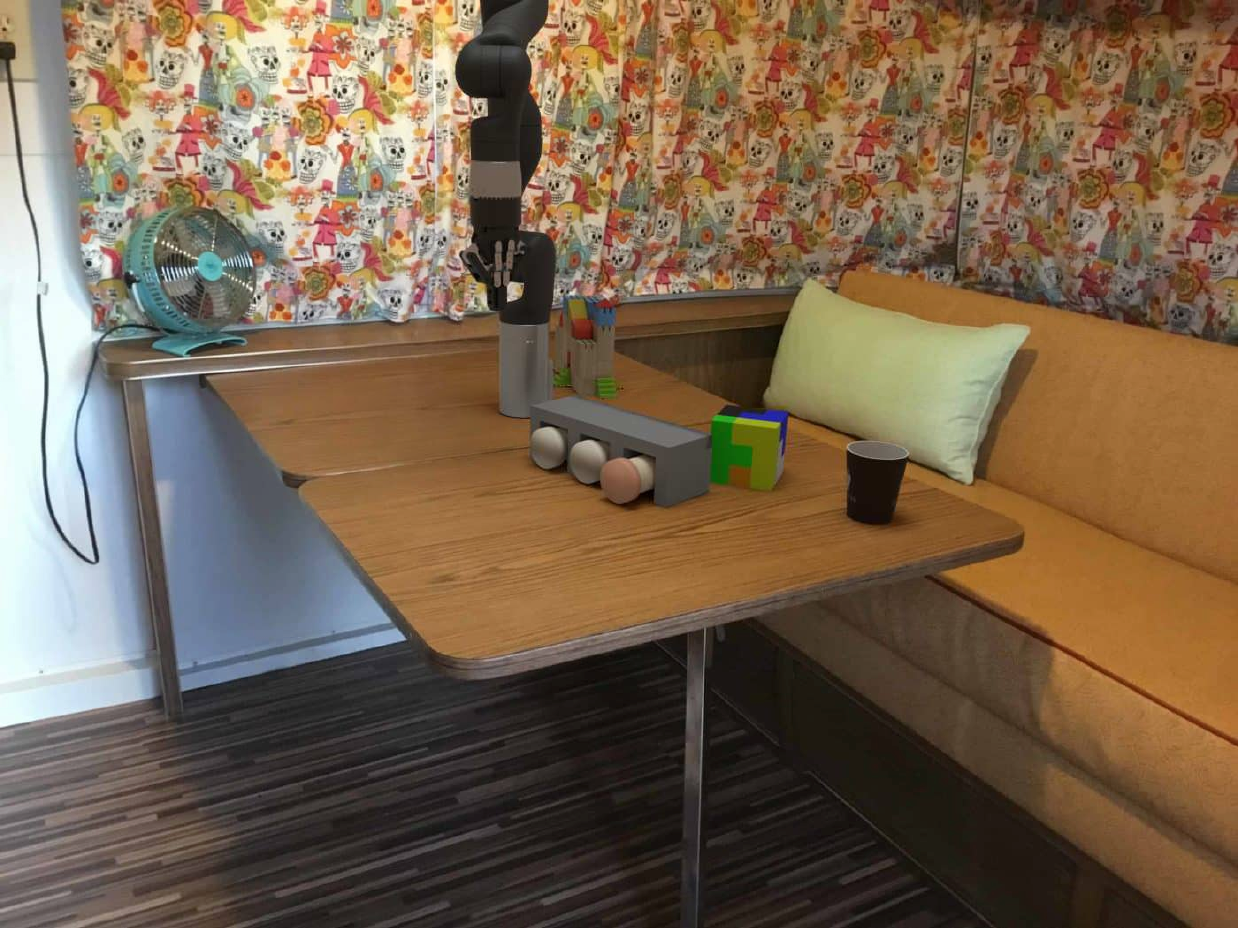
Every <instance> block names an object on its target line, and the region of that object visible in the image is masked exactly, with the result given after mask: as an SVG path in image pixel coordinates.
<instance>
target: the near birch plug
mask: <svg viewBox="0 0 1238 928" xmlns="http://www.w3.org/2000/svg"><path fill="white" fill-rule="evenodd" d="M530 449H531V453H532V456H533V458H534V460H535V461H534V460H533V461H534V462H535V463H536V465H538V466H539V467H541V468H542V469H545V470H550V469H553V468H556V467H559V466H561V465H562V464H563V463H564V462H565V461H566V460H567V461H568V429H565V428H562V427H560V428H557V429H556V428H554V427H545V428H541V429H538V430H536V431H535V432H534V433H533V434H532V436H531V440H530V439H529V450H530Z"/></svg>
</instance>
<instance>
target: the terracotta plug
mask: <svg viewBox="0 0 1238 928" xmlns="http://www.w3.org/2000/svg"><path fill="white" fill-rule="evenodd" d="M655 469H656V457H653V456H650V455H647V454H645V455H641V456H638V457H635V458H631V459H626V458H617V459H614V460H610V461H608V462H606V463H605V464H604V465H603V467H602V469H601V473H600V486H601V489H602V491H603V493H604V495H605V496H606V497H607V498H608V500H609V501H611V502H612V503H614V504H618V505H621V504H625V503H629V502H631V501H633V500H636V498H638V496H639V495H640V494H642V493H645V492H647V491H651V490H653V489H655Z"/></svg>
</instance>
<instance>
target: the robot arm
mask: <svg viewBox="0 0 1238 928" xmlns="http://www.w3.org/2000/svg"><path fill="white" fill-rule="evenodd" d="M479 5H480V8H479V9H480V19H481V27H482V29H481V33H480V34H478V35H477V36H475V37H474V38H472V39H469V41H468V42H466V43H465V44H464V45H463V47H462V48H461V49H460V51H459V53H458V55H457V58H456V62H455V64H454V65H455V67H454V76H455V81H456V84H457V86H458V88H459V89H460V90H461V92H463V94H464V95H466V96H467V97H469V98H473V99H486V100H487V102H486V104H487V115H485V116H480V117H476V118H474V119H473V120H472V121H471V122H470V128H469V130H470V132H469V134H470V135H469V136H470V137H469V140H470V142H469V143H470V144H469V145H470V147H469V149H470V166H469V187H468V188H469V221H470V224H471V227H472V228H473V231H472V235H471V238H470V243H471V244H470V245H469V246H468V247H467V248H466V250H460V251H459V254H458V257H459V259H460V260H461V262H462V263H463V265H464V266H465V267H466V269H467V270H468V272H469V274H471V276H472V278H473V279H474V281H475V282H476V283H480V284H484V285H485V286H486V304H487V307H488V309H489V311H491V312H495V313H499V314H498V315H499V321H498V322H499V323H498V329H499V330H498V333H499V335H498V337H499V345H498V347H499V353H498V354H499V357H498V360H499V364H498V365H499V366H498V367H499V368H498V369H499V371H498V372H499V374H498V375H499V378H498V380H499V383H498V384H499V388H498V389H499V393H498V394H499V405H498V406H499V407H498V409H499V413H501V415H502V414H503V415H504V416H508V417H513V418H530V405H534V404H539V403H543V402H547V401H552V400H554V398H553V397H554V386H553V379H554V370H553V361H552V359H550V351H551V350H550V343H551V312H552V309H553V308H552V307H553V303H554V297H555V295H554V293H555V292H554V291H555V277H556V276H555V275H556V264H557V263H556V262H557V258H556V257H557V255H556V247H555V243H554V241H553V239H552V237H551V236H550V235H549V234H547V233H545V232H539V231H534V230H533V231H531V230H530V231H529V230H521V229H520V226H521V225H522V221H523V220H522V219H523V218H522V198H523V195H524V192H525V190H526V188H528V185H529V183H530V181H531V179H532V178H533V176H534V174H535V172H536V170H537V168H538V165H540V164H539V163H540V162H541V159H542V155H543V124H542V123H543V121H542V120H543V119H542V112H541V109H540V107H539V105H538V103H537V101H536V100H535V98H534V95H533V94H532V93H531V91H530V90H529V88H530V84H531V80H532V77H533V76H532V75H533V68H532V67H533V65H532V61H531V58H530V56H529V55H528V53H527V50H528V45H529V44H530V42H531V41H532V40H533V39H534V38H536V36H537V34H539V33H540V30H542V29H543V27H544V26H545V23H546V22H547V19H548V17H549V16H548V15H549V7H550V6H549V5H550V0H479ZM511 282H512V283H519V284H523V287H522V293H521V296H519V297H518V298H516V299H514V300H510V301H508V286H509V285H510V283H511Z"/></svg>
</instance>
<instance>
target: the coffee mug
mask: <svg viewBox="0 0 1238 928" xmlns="http://www.w3.org/2000/svg"><path fill="white" fill-rule="evenodd" d="M909 456H910V452H909V450H908V449H906V448H905V447H902V446H900V445H897V444H894V443H890V442H885V441H879V440H877V441H876V440H859V441H853V442H850V443H848V444H847V445H846V515H847V517H848V518H849V519H851V520H853V521H855V522H858V523H861V524H865V525H876V526H877V525H878V526H879V525H880V526H881V525H886V524H889V523H891V522H892V521H893V518H894V514H895V510H896V507H897V502H898V499H899V494H900V491H901V488H902V484H903V481H904V476H905V471H906V468H907V464H908V460H909Z"/></svg>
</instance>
